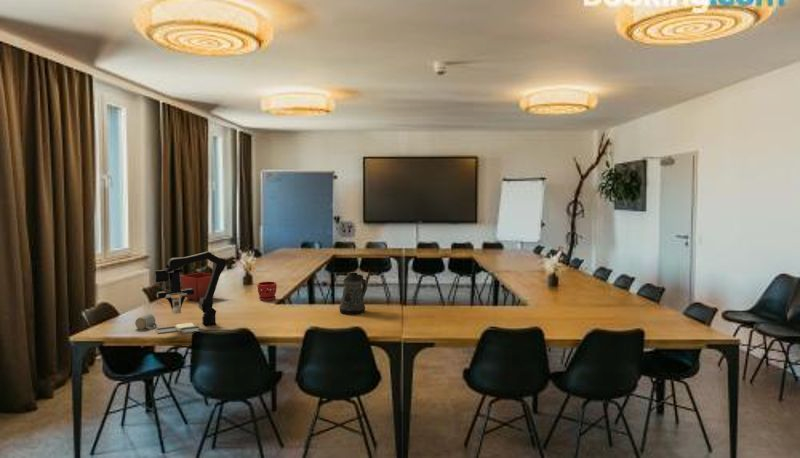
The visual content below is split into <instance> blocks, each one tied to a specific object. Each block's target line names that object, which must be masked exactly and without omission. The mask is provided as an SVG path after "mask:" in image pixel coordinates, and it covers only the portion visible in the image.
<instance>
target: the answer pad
mask: <svg viewBox="0 0 800 458" xmlns="http://www.w3.org/2000/svg"><path fill="white" fill-rule="evenodd" d="M175 326H176V328H177V329H180V328H187V327H195V325H194V323H193V322H185V323H179V324H175Z"/></svg>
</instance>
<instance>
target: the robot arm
mask: <svg viewBox="0 0 800 458" xmlns="http://www.w3.org/2000/svg"><path fill="white" fill-rule="evenodd" d="M204 260H208V261H209V262H211V263H212V272H211V274H212V276H211V279H210V282H209V285H208V288H207V291H206V294H205V296H204V297H203V298H200V300H199V301H198V308H199V310H200V311H201V312H202V317H201V319H202V320H201V321H202V322H201V323H202V325H204V326H208V327H209V326H215V325H217V322H216V313H217V310H216V309H214V308H213V304H214V295H215V293H216V289H217V285H218V283H219V279H220V276H221V274H222V273H223V271H224V270H225V268H226V266H227V264H228V263H227V260H226V259H225V258H223V257H220V256H219V257H218V256H217V255H214V254H213V253H212V252H210V251H204V252H201V253H196V254H193V255H188V256H184V257H171V258H169V259H168V261H167V264H166V266H165V267H164V269H160V270H157V269H156V270H154V274H153V281H154V284H158V283H164V291H163V290H162V291H157V292H156V298H158V299H165V300H167V301H168V303H169V305H170V308H171V310H172V309H173V304H172V297H171V296H177V295H179V298H180V302H181V308H182V306H183V304H184V301H185V299H186V298H187V294H188V295H193V294H194V290H193V289H192V288H188V289H185V290H182V283H181V279H180V276H181V273H184V270H183V269H182V268H183V267H184V266H186V265H189V264H192V263H196V262H200V261H204ZM167 281H168V282H169V283H167ZM165 282H166V283H167V284H165ZM166 291H168V292H166Z"/></svg>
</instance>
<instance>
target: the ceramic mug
mask: <svg viewBox="0 0 800 458" xmlns="http://www.w3.org/2000/svg"><path fill="white" fill-rule="evenodd" d="M135 327H136V328H137V329H138V330H147V329H148V330H156V329H155V328H158V324H157V323H156V317H155V316H154V315H153V314H152V313H145V314H144V315H141V316H139V317H138V318H136V320H135Z"/></svg>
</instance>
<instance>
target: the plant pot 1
mask: <svg viewBox="0 0 800 458" xmlns="http://www.w3.org/2000/svg"><path fill="white" fill-rule="evenodd" d="M211 276H212V273H208V272H196V273H189V274H182V275H181V274H180V281H181V288H182V291H184V290H185V289H188V288H192V289H193V290H194V294H193V295H188V294H187V297H186V299H187V300H192V301H198V302H200V298H203V297H204V296H205V294H206V291H207V288H208V285H209V282H210V279H211Z"/></svg>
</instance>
